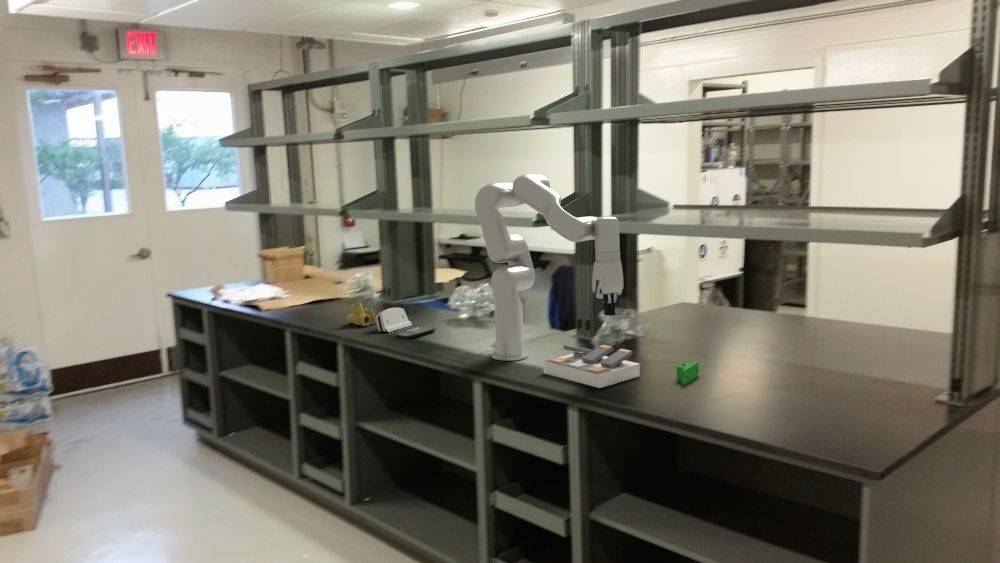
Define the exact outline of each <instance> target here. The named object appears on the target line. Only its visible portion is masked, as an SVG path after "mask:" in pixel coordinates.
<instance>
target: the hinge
mask: <svg viewBox="0 0 1000 563" xmlns="http://www.w3.org/2000/svg"><path fill="white" fill-rule="evenodd" d="M375 321H376V326H377V330H378V332H379V331H384V332H391V331H394V330H397V329H401V328H404V327H408V326H411V325H412V326H413V323H412V322H411V321H410V320H409V318H408V316H407V314H406V311H405V309H404V308H403V307H398V306H397V307H390V308H387V309H384V310H382V311H380V312H379V313H378V314H377V315H376V316H375ZM408 328H409V327H408Z"/></svg>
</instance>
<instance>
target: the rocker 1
mask: <svg viewBox="0 0 1000 563" xmlns="http://www.w3.org/2000/svg"><path fill="white" fill-rule="evenodd" d="M563 350H566V351H571V352H581V353H590V352H591V351H593V350H594V349H590V348H584V347H576V346H570V345H566V344H565V345H563Z"/></svg>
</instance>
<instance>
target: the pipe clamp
mask: <svg viewBox="0 0 1000 563" xmlns="http://www.w3.org/2000/svg"><path fill="white" fill-rule="evenodd" d="M699 373H700V372H699V361H694V362H693V363H686V362H682V365H680V366H679V365H678V366H676V382H680V385H684V386H685V385H687V384H688V383H690V382H692V381H693V380H695V379H696V378H698V377H699Z"/></svg>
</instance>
